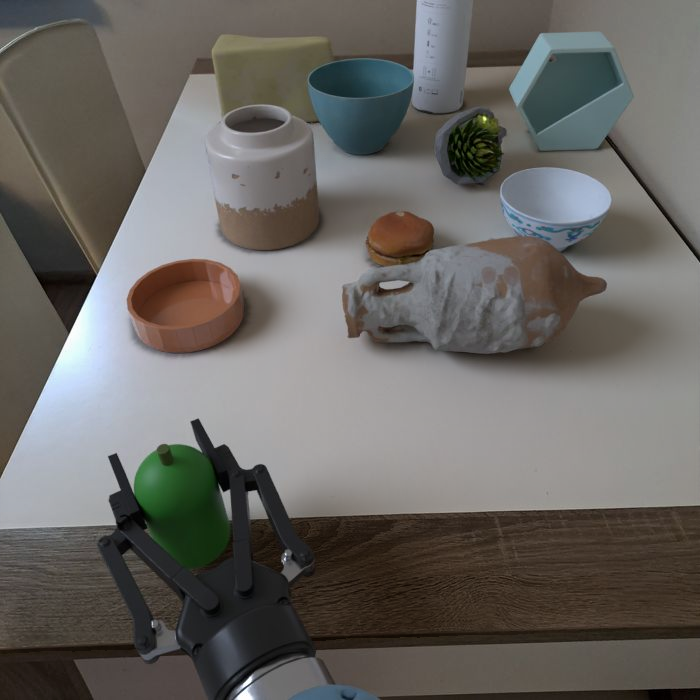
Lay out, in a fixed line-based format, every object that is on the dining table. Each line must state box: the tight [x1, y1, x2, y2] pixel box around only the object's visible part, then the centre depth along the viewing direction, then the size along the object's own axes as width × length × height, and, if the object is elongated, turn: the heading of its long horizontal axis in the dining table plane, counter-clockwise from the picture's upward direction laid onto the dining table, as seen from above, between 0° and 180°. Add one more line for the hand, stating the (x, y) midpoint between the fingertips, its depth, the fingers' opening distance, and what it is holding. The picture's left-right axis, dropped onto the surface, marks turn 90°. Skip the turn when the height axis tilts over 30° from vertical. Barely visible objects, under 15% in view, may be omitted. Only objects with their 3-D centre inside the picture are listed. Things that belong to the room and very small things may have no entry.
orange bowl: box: [126, 258, 246, 354], centre depth 83 cm, size 14×14×4 cm
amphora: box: [341, 236, 608, 354], centre depth 76 cm, size 14×16×30 cm
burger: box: [365, 210, 435, 267], centre depth 92 cm, size 10×9×5 cm
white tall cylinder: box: [411, 0, 474, 115], centre depth 121 cm, size 11×10×26 cm
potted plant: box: [433, 106, 508, 186], centre depth 104 cm, size 12×13×15 cm
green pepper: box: [133, 443, 232, 570], centre depth 54 cm, size 7×7×13 cm
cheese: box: [211, 33, 335, 123], centre depth 122 cm, size 22×10×15 cm, turn 87°
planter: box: [508, 30, 635, 152], centre depth 111 cm, size 17×8×21 cm
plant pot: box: [308, 57, 414, 155], centre depth 114 cm, size 18×18×12 cm
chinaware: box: [499, 166, 613, 252], centre depth 92 cm, size 15×15×8 cm
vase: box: [204, 104, 320, 251], centre depth 94 cm, size 15×15×17 cm
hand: (157, 446), depth 57 cm, fingers closed on green pepper, 7 cm apart
